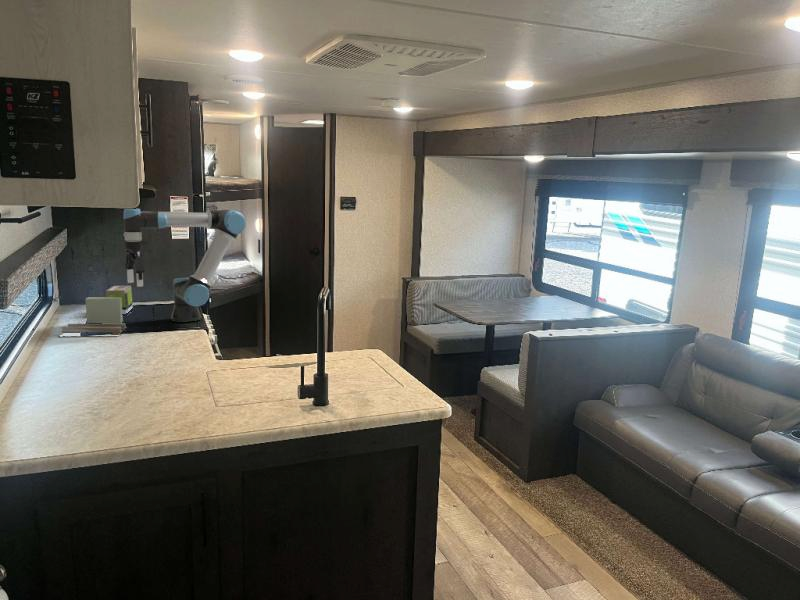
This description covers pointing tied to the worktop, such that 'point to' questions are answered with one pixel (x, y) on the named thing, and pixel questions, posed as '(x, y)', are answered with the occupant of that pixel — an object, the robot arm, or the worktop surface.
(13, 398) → the worktop surface
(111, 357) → the worktop surface
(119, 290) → the tea box
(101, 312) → the door panel
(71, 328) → the walnut track
